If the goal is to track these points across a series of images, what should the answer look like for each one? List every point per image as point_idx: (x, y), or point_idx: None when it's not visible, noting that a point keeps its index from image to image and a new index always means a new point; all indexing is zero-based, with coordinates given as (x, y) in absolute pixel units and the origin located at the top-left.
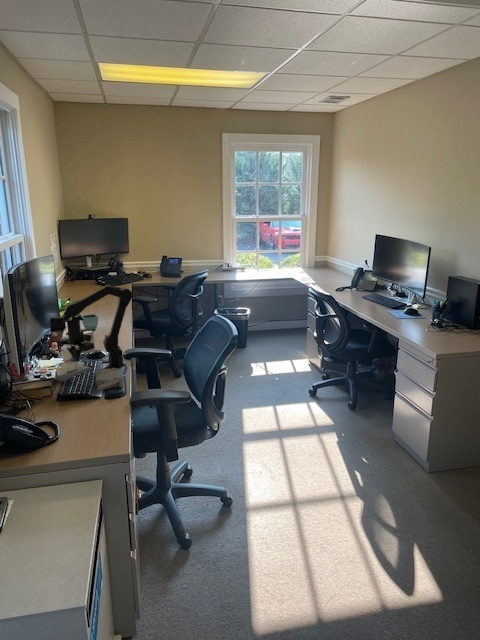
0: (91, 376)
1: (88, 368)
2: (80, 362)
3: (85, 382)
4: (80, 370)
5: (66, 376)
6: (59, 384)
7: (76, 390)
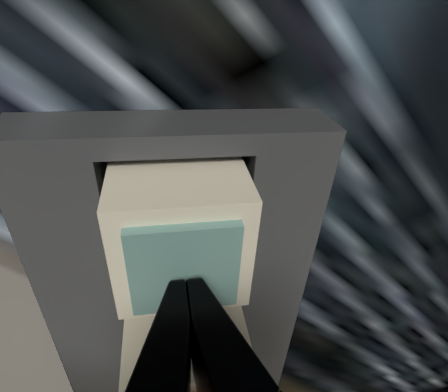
0: (419, 216)
1: (332, 161)
2: (222, 246)
3: (429, 303)
4: (303, 268)
5: (278, 375)
6: (278, 385)
7: (431, 370)
